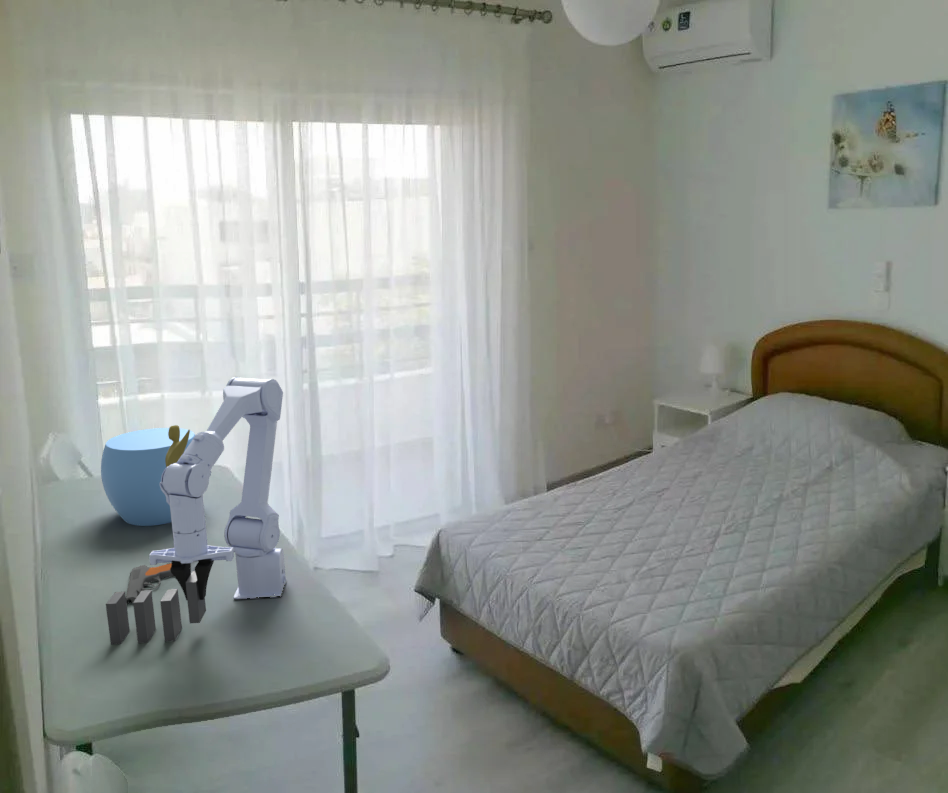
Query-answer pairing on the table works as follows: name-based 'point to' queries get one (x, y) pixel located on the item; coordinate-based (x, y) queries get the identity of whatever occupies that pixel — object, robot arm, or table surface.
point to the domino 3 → (194, 600)
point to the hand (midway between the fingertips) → (196, 597)
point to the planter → (138, 475)
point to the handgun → (145, 579)
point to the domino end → (117, 617)
